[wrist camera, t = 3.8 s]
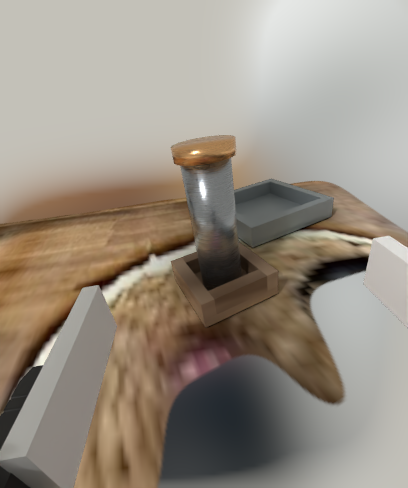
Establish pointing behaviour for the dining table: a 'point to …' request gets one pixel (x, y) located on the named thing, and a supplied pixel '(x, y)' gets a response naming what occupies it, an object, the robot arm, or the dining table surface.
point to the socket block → (226, 286)
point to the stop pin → (211, 205)
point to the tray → (277, 210)
